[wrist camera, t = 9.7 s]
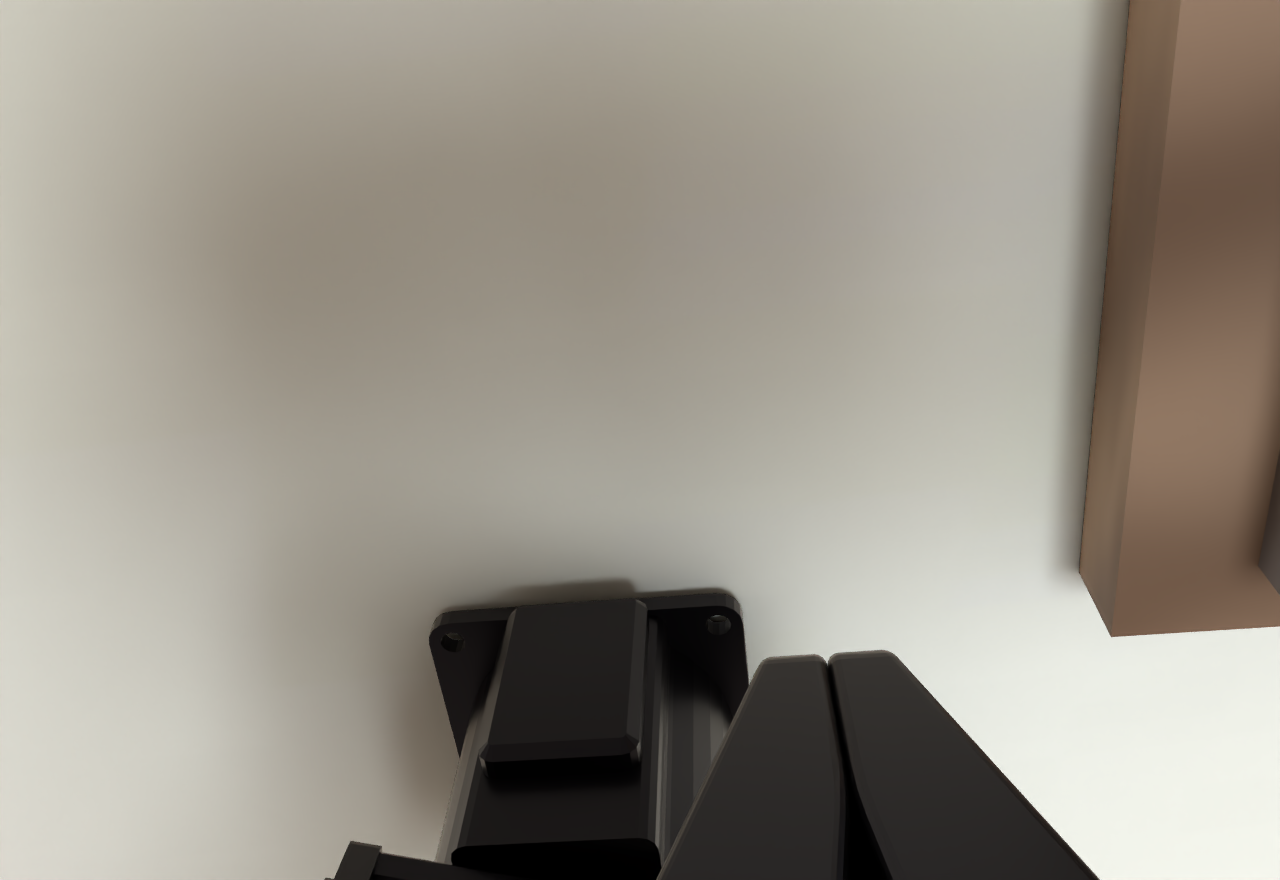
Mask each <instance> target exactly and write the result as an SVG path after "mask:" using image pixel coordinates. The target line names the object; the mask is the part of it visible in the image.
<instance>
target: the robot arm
mask: <svg viewBox="0 0 1280 880" xmlns="http://www.w3.org/2000/svg"><path fill="white" fill-rule="evenodd" d="M715 615H721V616H725V617H726V618H728V619H727V620H726V621H723V622H720V623H718V622H712V621H711V620H709V618H710V617H712V616H715ZM448 633H455V634H458V635H460V636H461V637H463V639H460V640H456V639H452V638H450V637H448V636H447V635H446V634H448ZM429 645H430V649H431V652H432V656H433V660H434V664H435V667H436V671H437V675H438V679H439V682H440V686H441V690H442V694H443V697H444V701H445V705H446V709H447V712H448V716H449V720H450V724H451V727H452V731H453V735H454V739H455V742H456V746H457V750H458V754H459V757H460V760H459V764H458V768H457V772H456V776H455V780H454V784H453V789H452V793H451V797H450V801H449V805H448V809H447V813H446V817H445V821H444V825H443V830H442V834H441V838H440V842H439V846H438V850H437V854H436V858H435V862H434V861H428V860H422V859H417V858H411V857H405V856H399V855H394V854H388V853H382V846H377V845H371V844H366V843H360V842H354V841H350V843H349V845H348V847H347V850H346V852H345V855H344V857H343V859H342V862H341V864H340V866H339V869H338V871H337V873H336V876H335V878H334V879H331V878H325V879H324V880H1100V879H1099V878H1098V877H1097V876H1096V875H1095V874H1094V873H1093V871H1092V870H1091V869H1090V868H1089V867H1088V866H1087V865H1086V864H1085V863H1084V862H1083V861H1082V859H1081V858H1080V857H1079V856H1078V855H1077V854H1076V853H1075V852H1074V851H1073V850H1072V848H1071V847H1070V846H1069V845H1068V844H1067V843H1066V842H1065V841H1064V840H1063V839H1062V837H1061V836H1060V835H1059V834H1058V833H1057V832H1056V831H1055V830H1054V829H1053V828H1052V826H1051V825H1050V824H1049V823H1048V822H1047V821H1046V820H1045V819H1044V818H1043V817H1042V816H1041V814H1040V813H1039V812H1038V811H1037V810H1036V809H1035V808H1034V807H1033V806H1032V805H1031V803H1030V802H1029V801H1028V800H1027V799H1026V798H1025V797H1024V796H1023V795H1022V794H1021V792H1020V791H1019V790H1018V789H1017V788H1016V787H1015V786H1014V785H1013V784H1012V783H1011V781H1010V780H1009V779H1008V778H1007V777H1006V776H1005V775H1004V774H1003V773H1002V772H1001V770H1000V769H999V768H998V767H997V766H996V765H995V764H994V763H993V762H992V761H991V760H990V758H989V757H988V756H987V755H986V754H985V753H984V752H983V751H982V750H981V749H980V747H979V746H978V745H977V744H976V743H975V742H974V741H973V740H972V739H971V738H970V736H969V735H968V734H967V733H966V732H965V731H964V730H963V729H962V728H961V727H960V725H959V724H958V723H957V722H956V721H955V720H954V719H953V718H952V717H951V716H950V715H949V713H948V712H947V711H946V710H945V709H944V708H943V707H942V706H941V705H940V704H939V702H938V701H937V700H936V699H935V698H934V697H933V696H932V695H931V694H930V693H929V691H928V690H927V689H926V688H925V687H924V686H923V685H922V684H921V683H920V682H919V680H918V679H917V678H916V677H915V676H914V675H913V674H912V673H911V672H910V671H909V669H908V668H907V667H906V666H905V665H904V664H903V663H902V662H901V661H900V660H899V659H898V657H897V656H895V655H894V654H893V653H891V652H889V651H885V650H874V651H859V652H843V653H836V654H833V655H832V656H831V657H830V659H829V660H828V664H827V663H826V661H825V660H824V659H823V657H821V656H819V655H815V654H811V655H795V656H780V657H769V658H766V659H765V660H763V661H762V662H761V664H760V665H759V666H758V668H757V670H756V672H755V674H754V676H753V679H752V681H751V683H750V685H749V678H748V667H747V656H746V645H745V634H744V624H743V613H742V609H741V606H740V604H739V603H738V602H737V600H736V599H735V598H733V597H731V596H729V595H726V594H718V593H713V594H698V595H684V596H669V597H654V598H640V599H632V598H631V599H616V600H601V601H587V602H572V603H558V604H543V605H529V606H520V607H508V608H494V609H479V610H465V611H451V612H447V613H443V614H442V615H440V616H439V617H437V618H436V620H435V622H434V624H433V626H432V629H431V633H430V636H429Z"/></svg>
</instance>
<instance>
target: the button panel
mask: <svg viewBox="0 0 1280 880" xmlns="http://www.w3.org/2000/svg"><path fill="white" fill-rule="evenodd" d="M1079 573H1080V575H1081V577H1082V579H1083V581H1084V583H1085V585H1086V587H1087V589H1088V591H1089V593H1090V595H1091V597H1092V599H1093V601H1094V603H1095V605H1096V607H1097V609H1098V611H1099V613H1100V615H1101V618H1102V620H1103V622H1104V624H1105V626H1106V628H1107V630H1108V632H1109V634H1110V636H1111V637H1118V636H1134V635H1149V634H1165V633H1181V632H1197V631H1213V630H1229V629H1245V628H1261V627H1277V626H1280V0H1130V6H1129V17H1128V28H1127V40H1126V51H1125V62H1124V73H1123V85H1122V96H1121V107H1120V118H1119V130H1118V141H1117V152H1116V163H1115V174H1114V186H1113V197H1112V208H1111V219H1110V231H1109V242H1108V253H1107V264H1106V276H1105V287H1104V298H1103V309H1102V321H1101V332H1100V343H1099V354H1098V366H1097V377H1096V388H1095V399H1094V411H1093V422H1092V433H1091V444H1090V456H1089V467H1088V478H1087V489H1086V501H1085V512H1084V523H1083V534H1082V546H1081V557H1080V568H1079Z"/></svg>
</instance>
